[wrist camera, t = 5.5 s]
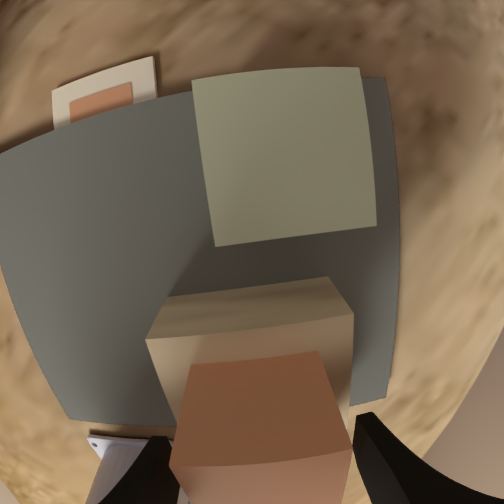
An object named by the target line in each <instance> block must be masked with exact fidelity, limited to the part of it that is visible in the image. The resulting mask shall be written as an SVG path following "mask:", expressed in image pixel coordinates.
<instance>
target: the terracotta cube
mask: <svg viewBox="0 0 504 504" xmlns="http://www.w3.org/2000/svg"><path fill="white" fill-rule="evenodd" d="M352 451H353V447H352V444H351V441H350V438H349V436H348V433H347V430H346V427H345V424H344V421H343V419H342V416H341V413H340V410H339V407H338V404H337V402H336V399H335V396H334V393H333V391H332V388H331V385H330V382H329V380H328V377H327V374H326V371H325V369H324V366H323V363H322V361H321V358H320V355H319V352H318V351H312V352H306V353H299V354H292V355H285V356H277V357H269V358H261V359H252V360H242V361H232V362H220V363H207V364H192V365H190V370H189V374H188V378H187V383H186V387H185V392H184V396H183V400H182V405H181V409H180V414H179V419H178V423H177V428H176V433H175V437H174V442H173V447H172V452H171V457H170V462H169V467H170V469H171V471H172V472H173V474H174V476H175V477H176V479H177V481H178V482H179V484H180V486H181V487H182V489H183V490H184V492H185V494H186V495H187V497H188V498H189V500H190V501H191V503H192V504H341V502H342V498H343V493H344V489H345V485H346V481H347V476H348V471H349V467H350V462H351V457H352Z"/></svg>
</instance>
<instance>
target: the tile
mask: <svg viewBox="0 0 504 504" xmlns="http://www.w3.org/2000/svg"><path fill="white" fill-rule="evenodd" d="M155 98H158V91H157V81H156V70H155V59H154V57H153V56H150V57H147V58H143V59H139V60H136V61H132V62H129V63H125V64H122V65H119V66H116V67H113V68H109V69H106V70H104V71H101V72H98V73H95V74H92V75H89V76H87V77H84V78H81V79H79V80H76V81H74V82H71V83H69V84H66V85H64V86H62V87H59V88H57V89H55V90H52V107H53V123H54V130H55V129H58V128H60V127H63V126H66V125H68V124H71V123H74V122H77V121H80V120H82V119H85V118H88V117H91V116H94V115H97V114H101V113H104V112H107V111H110V110H114V109H117V108H121V107H124V106H128V105H131V104H135V103H139V102H143V101H147V100H151V99H155Z"/></svg>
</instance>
